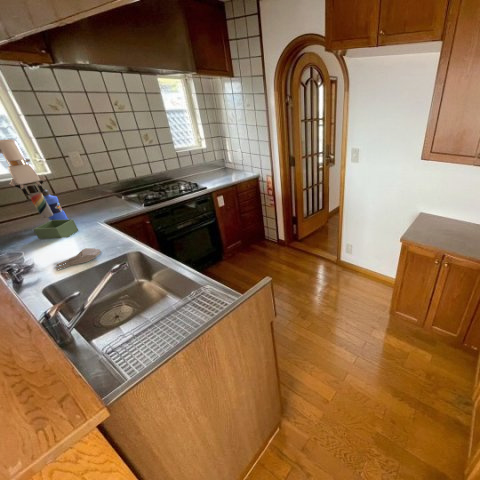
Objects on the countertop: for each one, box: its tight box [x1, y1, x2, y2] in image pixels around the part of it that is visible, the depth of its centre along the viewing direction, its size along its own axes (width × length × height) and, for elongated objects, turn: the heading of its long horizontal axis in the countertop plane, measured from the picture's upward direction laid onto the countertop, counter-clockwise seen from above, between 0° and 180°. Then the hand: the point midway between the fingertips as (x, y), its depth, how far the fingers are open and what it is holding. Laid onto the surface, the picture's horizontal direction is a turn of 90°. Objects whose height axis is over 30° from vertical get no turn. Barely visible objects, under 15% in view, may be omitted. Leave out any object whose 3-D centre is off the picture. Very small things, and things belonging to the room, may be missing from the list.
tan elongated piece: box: [55, 247, 101, 271], centre depth 142 cm, size 10×20×5 cm, turn 132°
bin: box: [32, 218, 79, 240], centre depth 169 cm, size 14×14×9 cm
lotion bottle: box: [26, 184, 53, 219], centre depth 159 cm, size 6×6×20 cm
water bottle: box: [41, 188, 69, 221], centre depth 183 cm, size 9×9×25 cm
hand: (34, 193), depth 156 cm, fingers closed on lotion bottle, 5 cm apart
